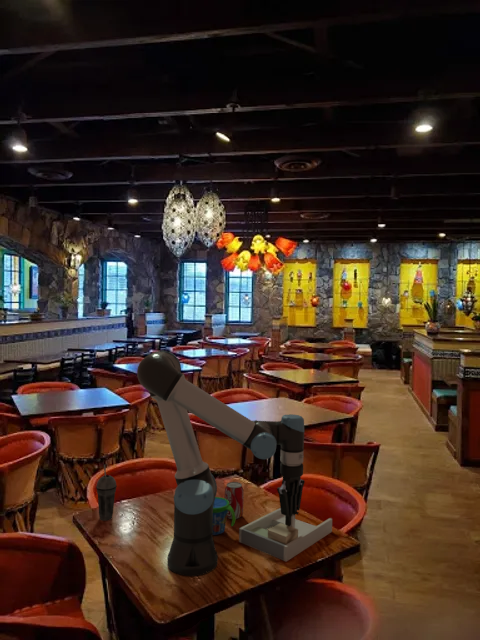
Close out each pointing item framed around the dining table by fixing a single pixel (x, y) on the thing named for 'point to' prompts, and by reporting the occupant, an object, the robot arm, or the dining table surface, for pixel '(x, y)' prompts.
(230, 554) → the dining table surface
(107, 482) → the beverage cup
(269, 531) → the beech block
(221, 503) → the snack cup
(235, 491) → the soda can
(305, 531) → the trap box
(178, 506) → the robot arm
